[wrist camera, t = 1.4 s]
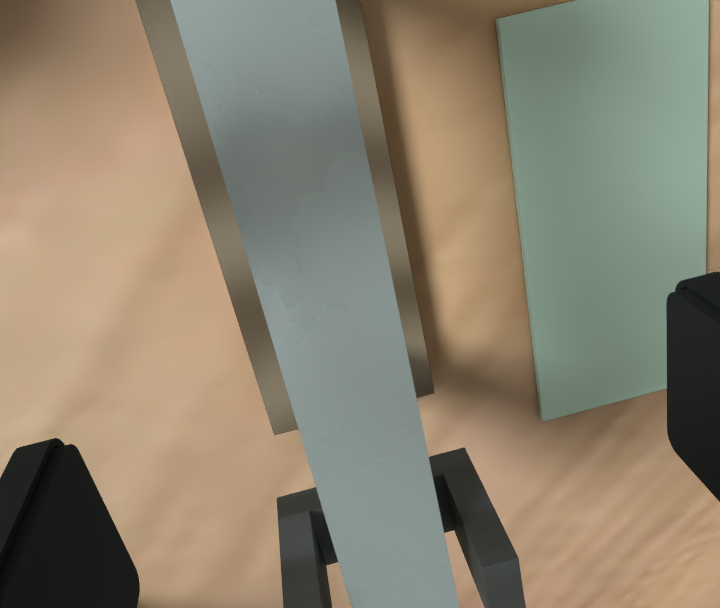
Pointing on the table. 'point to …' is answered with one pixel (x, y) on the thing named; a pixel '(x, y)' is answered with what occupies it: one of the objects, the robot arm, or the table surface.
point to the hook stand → (302, 509)
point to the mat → (606, 186)
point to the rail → (323, 282)
